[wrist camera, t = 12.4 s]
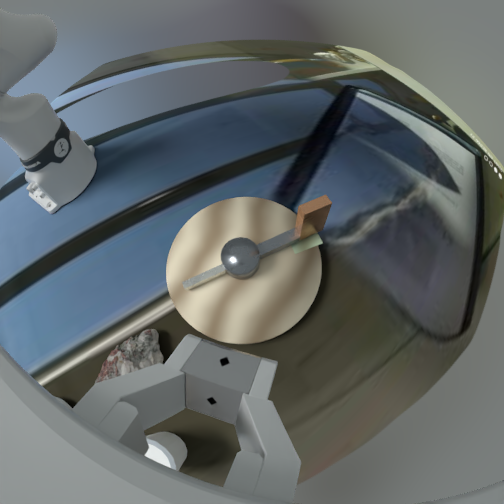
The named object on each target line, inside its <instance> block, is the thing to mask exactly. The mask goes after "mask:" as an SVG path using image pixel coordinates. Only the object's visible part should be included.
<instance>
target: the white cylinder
mask: <svg viewBox="0 0 504 504" xmlns="http://www.w3.org/2000/svg"><path fill="white" fill-rule="evenodd" d="M146 439H147V442H148V445H149V449H148V451H147V452H146V454H145V456H146V457H148V458H150V459H152V460H154V461H156V462H158V463H160V464H163V465H165V466H167V467H169V468H172V469H174V470H176V471H178V470H179V469H180V467H181V466H182V464H183V462H184V461H185V459H186V458H187V448H186V445H185V443H184V442H183V441H182V439H181V438H180V437H178V436H177V435H175V434H173V433H170V432H158V433H155V434H151V435H148V436H146Z"/></svg>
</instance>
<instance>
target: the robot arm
mask: <svg viewBox="0 0 504 504" xmlns="http://www.w3.org/2000/svg"><path fill="white" fill-rule="evenodd" d="M56 40H57V29H56V26H55V23H54V22H53V21H52V19H51V18H49V17H48V16H46V15H42V14H33V15H16V14H12V13H9V12H6V11H4V10H2V9H1V8H0V137H1V138H2V139H3V140H4V141H5V142H6V143H7V144H8V145H9V146H10V147H11V148H12V149H13V150H14V151H15V152H16V153H17V154H18V156H19V157H20V161H21V162H22V165H23V166H24V167H25V169H26V175H25V179H26V180H27V181H28V182H29V185H28V187H27V190H28V191H29V196H30V197H31V198H32V199H33V200H34V201H36V202H37V203H38V204H39V205H40V206H42V207H43V208H44V209H45V210H46V211H48V212H49V213H50V214H53V213H54V212H56V211H57V210H58V209H59V208H60V207H61V206H62V205H64V204H66V203H68V202H70V201H72V200H73V199H74V198H76V197H77V196H78V195H79V194H80V193H81V192H82V191H83V190H84V189H85V188H86V187H87V185H88V184H89V183H90V181H91V179H92V178H93V176H94V173H95V171H96V166H97V162H96V159H95V157H94V151H95V149H94V147H93V146H87V145H86V144H85V142H84V141H83V140H82V139H81V138H80V136H79V135H78V134H77V133H76V132H75V131H70V130H69V129H68V127H67V125H66V124H65V122H63V120H62V119H60V118H58V116H57V115H56V113H55V111H54V110H53V108H52V107H51V105H50V103H49V102H48V100H47V99H46V97H45V96H43V95H42V94H38V93H31V94H28V95H24V96H21V97H11V96H9V95H8V94H7V93H6V92H7V91H8V90H9V89H10V88H11V87H13V86H14V85H15V84H16V83H17V82H19V81H20V80H21V79H22V78H23V77H25V76H26V75H27V74H28V73H30V72H31V71H32V70H33V69H35V68H36V67H37V66H38V65H39V64H40V63H41V62H42V61H43V60H44V59H45V58H46V57H47V56H48V55H49V54H50V53H51V52H52V51H53V49H54V47H55V44H56ZM277 364H278V363H277V361H274V360H270V359H267V358H263V357H259V356H255V355H252V354H248V353H245V352H241V351H238V350H234V349H231V348H228V347H225V346H222V345H219V344H216V343H213V342H211V341H208V340H205V339H201V338H199V337H196V336H194V335H191V334H188V335H186V336H185V337H184V339H183V340H182V341H181V343H180V344H179V345H178V347H177V348H176V349H175V351H174V352H173V353H172V354H171V356H170V357H169V358H168V360H167V361H166V362H165V364H162V363H158V364H155V365H152V366H149V367H146V368H143V369H140V370H137V371H134V372H131V373H128V374H125V375H122V376H118V377H115V378H112V379H108V380H105V381H102V382H98V383H96V384H95V385H94V386H93V387H92V388H91V389H90V390H89V391H88V392H87V393H86V395H85V396H84V397H83V398H82V399H81V400H80V401H79V402H78V403H77V404H76V405H75V407H74V408H73V409H72V410H70V409H69V408H68V407H66V406H65V405H64V404H63V403H61V402H60V401H59V400H58V399H56V398H55V397H54V396H53V395H51V394H50V393H49V392H48V391H47V390H46V389H44V388H43V387H42V386H41V385H40V384H39V383H38V382H37V381H36V380H34V379H33V378H32V377H31V376H30V375H29V374H28V373H27V372H26V371H25V370H24V369H23V368H22V367H21V366H20V365H19V364H18V363H17V362H16V361H15V360H14V359H13V358H12V357H11V356H10V354H9V353H8V352H7V351H6V350H5V349H4V348H3V347H2V346H1V344H0V504H297V503H293V498H294V494H295V490H296V485H297V480H298V476H299V471H300V466H301V461H300V459H299V457H298V455H297V453H296V451H295V449H294V447H293V445H292V443H291V440H290V438H289V436H288V434H287V432H286V430H285V428H284V426H283V424H282V421H281V419H280V417H279V415H278V413H277V411H276V409H275V406H274V404H273V402H272V401H269V400H268V396H269V393H270V389H271V386H272V382H273V379H274V375H275V372H276V368H277ZM185 407H186V408H189V409H192V410H194V411H197V412H200V413H203V414H206V415H209V416H212V417H214V418H217V419H220V420H223V421H226V422H228V423H231V424H234V425H235V429H236V432H237V436H238V440H239V443H240V447H241V450H242V451H240V452H237V454H236V457H235V459H234V462H233V464H232V467H231V469H230V472H229V474H228V477H227V479H226V481H225V484H224V486H223V487H220V486H217V485H214V484H211V483H208V482H205V481H202V480H199V479H197V478H194V477H191V476H189V475H186V474H184V473H181V472H179V471H176V470H174V469H172V468H169V467H167V466H165V465H163V464H160V463H158V462H156V461H154V460H152V459H150V458H148V457H146V456H145V454H146V452H147V451H148V449H149V445H148V442H147V439H146V436H145V433H144V430H146V429H148V428H150V427H152V426H154V425H155V424H157V423H159V422H161V421H163V420H165V419H167V418H169V417H171V416H173V415H174V414H176V413H178V412H180V411H182V410H183V409H185ZM415 504H504V480H503V481H500V482H497V483H495V484H493V485H489V486H487V487H483V488H480V489H477V490H474V491H471V492H467V493H464V494H460V495H456V496H452V497H448V498H444V499H439V500H434V501H428V502H422V503H415Z"/></svg>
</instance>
